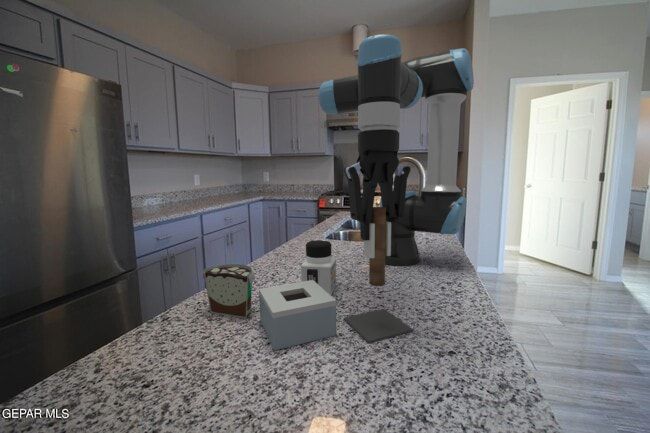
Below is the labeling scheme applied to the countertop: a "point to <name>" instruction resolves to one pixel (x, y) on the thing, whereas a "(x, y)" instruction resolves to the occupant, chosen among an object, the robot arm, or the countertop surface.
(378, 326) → the pad
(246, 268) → the food container
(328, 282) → the container
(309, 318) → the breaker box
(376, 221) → the stylus
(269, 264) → the countertop surface
